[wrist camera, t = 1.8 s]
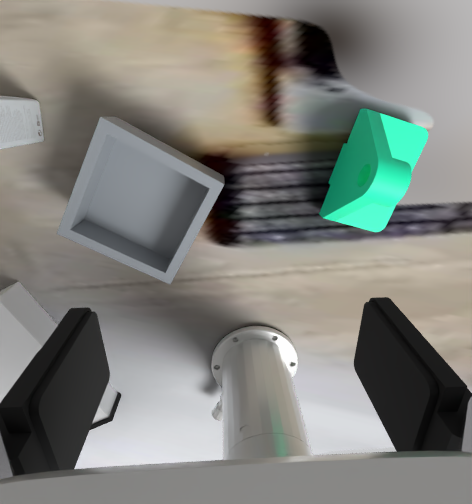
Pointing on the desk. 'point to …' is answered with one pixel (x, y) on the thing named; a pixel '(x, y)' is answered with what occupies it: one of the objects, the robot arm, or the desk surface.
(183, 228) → the grey square tray
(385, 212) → the camera mount
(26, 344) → the disc drive
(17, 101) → the skincare box
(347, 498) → the robot arm
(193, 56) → the desk surface
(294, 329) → the desk surface
